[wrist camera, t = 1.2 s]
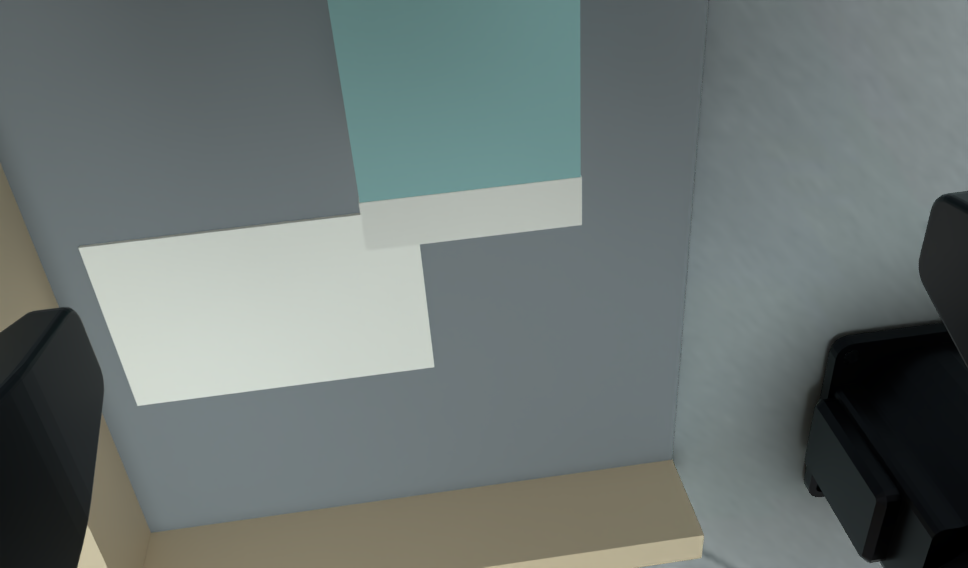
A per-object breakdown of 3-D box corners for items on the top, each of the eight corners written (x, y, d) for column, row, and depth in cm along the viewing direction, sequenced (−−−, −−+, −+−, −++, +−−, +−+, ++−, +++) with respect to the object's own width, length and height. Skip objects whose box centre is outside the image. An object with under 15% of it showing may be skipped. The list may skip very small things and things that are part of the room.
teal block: (523, -228, 17) (581, -198, 13) (535, 117, 21) (582, 225, 17) (309, -209, 17) (297, -173, 13) (361, 136, 21) (366, 250, 17)
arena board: (719, -276, 18) (796, -267, 15) (665, 468, 29) (701, 558, 26) (-191, -202, 16) (-310, -175, 13) (130, 543, 28) (104, 646, 25)
